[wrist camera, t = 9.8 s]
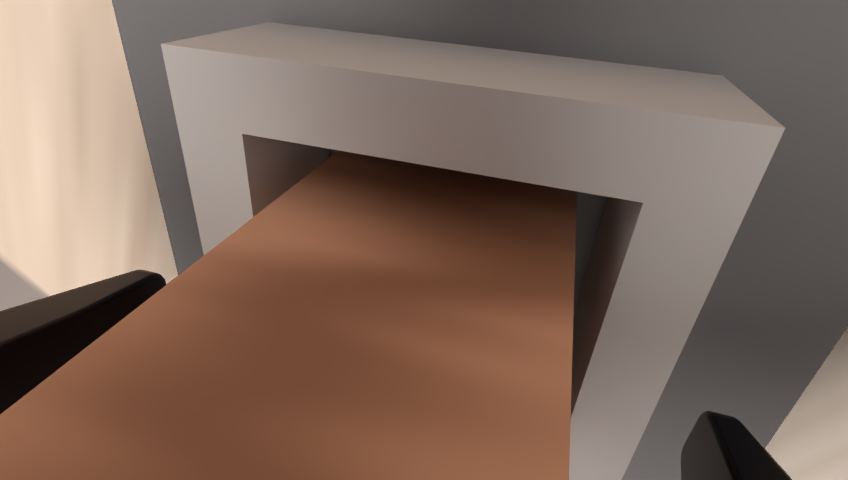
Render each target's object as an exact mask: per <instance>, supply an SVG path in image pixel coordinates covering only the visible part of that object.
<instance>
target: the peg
mask: <svg viewBox="0 0 848 480" xmlns="http://www.w3.org/2000/svg"><path fill="white" fill-rule="evenodd" d="M576 208H577V191H572V190H566V189H560V188H554V187H548V186H543V185H537V184H531V183H525V182H519V181H513V180H508V179H502V178H496V177H490V176H484V175H479V174H473V173H467V172H461V171H455V170H450V169H444V168H438V167H432V166H426V165H421V164H415V163H409V162H403V161H397V160H392V159H386V158H380V157H374V156H368V155H362V154H357V153H351V152H345V151H337V152H336V153H335V154H333V155H332V156H331V157H330V158H328V159H327V160H326V161H325V162H323V163H322V164H321V165H319V166H318V167H317V168H316V169H314V170H313V171H312V172H310V173H309V174H308V175H307V176H305V177H304V178H303V179H301V180H300V181H299V182H298V183H296V184H295V185H294V186H292V187H291V188H290V189H289V190H287V191H286V192H285V193H284V194H282V195H281V196H280V197H278V198H277V199H276V200H275V201H273V202H272V203H271V204H269V205H268V206H267V207H266V208H264V209H263V210H262V211H260V212H259V213H258V214H257V215H255V216H254V217H253V218H251V219H250V220H249V221H248V222H246V223H245V224H244V225H243V226H241V227H240V228H239V229H237V230H236V231H235V232H234V233H232V234H231V235H230V236H228V237H227V238H226V239H225V240H223V241H222V242H221V243H219V244H218V245H217V246H216V247H214V248H213V249H212V250H210V251H209V252H208V253H207V254H205V255H204V256H203V257H202V258H200V259H199V260H198V261H196V262H195V263H194V264H193V265H191V266H190V267H189V268H187V269H186V270H185V271H184V272H182V273H181V274H180V275H178V276H177V277H176V278H175V279H173V280H172V281H171V282H169V283H168V284H167V285H166V286H164V287H163V288H162V289H161V290H159V291H158V292H157V293H155V294H154V295H153V296H152V297H150V298H149V299H148V300H146V301H145V302H144V303H143V304H141V305H140V306H139V307H137V308H136V309H135V310H134V311H132V312H131V313H130V314H128V315H127V316H126V317H125V318H123V319H122V320H121V321H120V322H118V323H117V324H116V325H114V326H113V327H112V328H111V329H109V330H108V331H107V332H105V333H104V334H103V335H102V336H100V337H99V338H98V339H96V340H95V341H94V342H93V343H91V344H90V345H89V346H87V347H86V348H85V349H84V350H82V351H81V352H80V353H79V354H77V355H76V356H75V357H73V358H72V359H71V360H70V361H68V362H67V363H66V364H64V365H63V366H62V367H61V368H59V369H58V370H57V371H55V372H54V373H53V374H52V375H50V376H49V377H48V378H46V379H45V380H44V381H43V382H41V383H40V384H39V385H38V386H36V387H35V388H34V389H32V390H31V391H30V392H29V393H27V394H26V395H25V396H23V397H22V398H21V399H20V400H18V401H17V402H16V403H14V404H13V405H12V406H11V407H9V408H8V409H7V410H5V411H4V412H3V413H2V414H0V480H569V458H570V422H571V386H572V351H573V315H574V279H575V243H576Z"/></svg>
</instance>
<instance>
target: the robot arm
mask: <svg viewBox="0 0 848 480" xmlns="http://www.w3.org/2000/svg"><path fill="white" fill-rule="evenodd" d="M164 286H166V282H165V279H164V278H163V277H162V276H161V275H160V274H157V273H153V272H149V271H145V270H135V271H132V272H129V273H125V274H122V275H119V276H115V277H112V278H109V279H105V280H102V281H99V282H95V283H92V284H89V285H85V286H82V287H79V288H76V289H72V290H69V291H66V292H62V293H59V294H56V295H52V296H49V297H46V298H43V299H39V300H36V301H33V302H29V303H26V304H23V305H19V306H16V307H13V308H9V309H6V310H3V311H0V414H2V413H3V412H4V411H5V410H7V409H8V408H9V407H11V406H12V405H13V404H14V403H16V402H17V401H18V400H20V399H21V398H22V397H23V396H25V395H26V394H27V393H29V392H30V391H31V390H32V389H34V388H35V387H36V386H38V385H39V384H40V383H41V382H43V381H44V380H45V379H46V378H48V377H49V376H50V375H52V374H53V373H54V372H55V371H57V370H58V369H59V368H61V367H62V366H63V365H64V364H66V363H67V362H68V361H70V360H71V359H72V358H73V357H75V356H76V355H77V354H79V353H80V352H81V351H82V350H84V349H85V348H86V347H87V346H89V345H90V344H91V343H93V342H94V341H95V340H96V339H98V338H99V337H100V336H102V335H103V334H104V333H105V332H107V331H108V330H109V329H111V328H112V327H113V326H114V325H116V324H117V323H118V322H120V321H121V320H122V319H123V318H125V317H126V316H127V315H128V314H130V313H131V312H132V311H134V310H135V309H136V308H137V307H139V306H140V305H141V304H143V303H144V302H145V301H146V300H148V299H149V298H150V297H152V296H153V295H154V294H155V293H157V292H158V291H159V290H161V289H162V288H163V287H164ZM681 480H792V479H791V478H790V477H789V475H788V474H787V473H786V472H785V471H784V470H783V469H782V468H781V466H780V465H779V464H778V463H777V462H776V461H775V460H774V459H773V457H772V456H771V455H770V454H769V453H768V452H767V451H766V450H765V448H764V447H763V446H762V445H761V444H760V443H759V442H758V440H757V439H756V438H755V437H754V436H753V435H752V434H751V433H750V431H749V430H748V429H747V428H746V427H745V426H744V425H743V424H742V423H741V422H740V421H739V420H738V419H737V418H735V417H732V416H728V415H724V414H720V413H716V412H712V411H705V412H703V413H702V414H701V415H700V416H699V418H698V419H697V421H696V423H695V425H694V427H693V429H692V431H691V432H690V434H689V436H688V438H687V440H686V442H685V443H684V446H683V448H682V452H681Z"/></svg>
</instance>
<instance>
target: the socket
mask: <svg viewBox="0 0 848 480" xmlns="http://www.w3.org/2000/svg"><path fill="white" fill-rule="evenodd" d="M112 3H113V7H114V11H115V15H116V19H117V24H118V28H119V32H120V36H121V40H122V44H123V48H124V52H125V57H126V61H127V65H128V69H129V73H130V77H131V81H132V85H133V90H134V94H135V98H136V102H137V106H138V110H139V114H140V118H141V123H142V127H143V131H144V135H145V139H146V143H147V147H148V151H149V156H150V160H151V164H152V168H153V172H154V176H155V180H156V184H157V189H158V193H159V197H160V201H161V205H162V209H163V213H164V217H165V222H166V226H167V230H168V234H169V238H170V242H171V246H172V250H173V254H174V259H175V263H176V267H177V271H178V275H180V274H181V273H182V272H184V271H185V270H186V269H187V268H189V267H190V266H191V265H193V264H194V263H195V262H196V261H198V260H199V259H200V258H202V257H203V256H204V255H205V254H207V253H208V252H209V251H210V250H212V249H213V248H214V247H216V246H217V245H218V244H219V243H221V242H222V241H223V240H225V239H226V238H227V237H228V236H230V235H231V234H232V233H234V232H235V231H236V230H237V229H239V228H240V227H241V226H243V225H244V224H245V223H246V222H248V221H249V220H250V219H251V218H253V217H254V216H255V215H257V214H258V213H259V212H260V211H262V210H263V209H264V208H266V207H267V206H268V205H269V204H271V203H272V202H273V201H275V200H276V199H277V198H278V197H280V196H281V195H282V194H284V193H285V192H286V191H287V190H289V189H290V188H291V187H292V186H294V185H295V184H296V183H298V182H299V181H300V180H301V179H303V178H304V177H305V176H307V175H308V174H309V173H310V172H312V171H313V170H314V169H316V168H317V167H318V166H319V165H321V164H322V163H323V162H325V161H326V160H327V159H328V158H330V157H331V156H332V155H333V154H335V153H336V152H337V151H345V152H351V153H357V154H362V155H368V156H374V157H380V158H386V159H392V160H397V161H403V162H409V163H415V164H421V165H426V166H432V167H438V168H444V169H450V170H455V171H461V172H467V173H473V174H479V175H484V176H490V177H496V178H502V179H508V180H513V181H519V182H525V183H531V184H537V185H543V186H548V187H554V188H560V189H566V190H572V191H577V208H576V243H575V279H574V315H573V351H572V386H571V422H570V458H569V480H681V452H682V448H683V446H684V443H685V442H686V440H687V438H688V436H689V434H690V432H691V431H692V429H693V427H694V425H695V423H696V421H697V419H698V418H699V416H700V415H701V414H702V413H703V412H705V411H712V412H716V413H720V414H724V415H728V416H732V417H735V418H737V419H738V420H739V421H740V422H741V423H742V424H743V425H744V426H745V427H746V428H747V429H748V430H749V431H750V433H751V434H752V435H753V436H754V437H755V438H756V439H757V440H758V442H759V443H760V444H761V445H762V446H763V447H764V448H765V447H766V446H767V444H768V443H769V441H770V440H771V438H772V437H773V435H774V434H775V432H776V431H777V429H778V428H779V427H780V425H781V424H782V422H783V421H784V419H785V418H786V416H787V415H788V413H789V412H790V410H791V409H792V408H793V406H794V405H795V403H796V402H797V400H798V399H799V397H800V396H801V394H802V393H803V391H804V390H805V389H806V387H807V386H808V384H809V383H810V381H811V380H812V378H813V377H814V375H815V374H816V372H817V371H818V370H819V368H820V367H821V365H822V364H823V362H824V361H825V359H826V358H827V356H828V355H829V353H830V352H831V351H832V349H833V348H834V346H835V345H836V343H837V342H838V340H839V339H840V337H841V336H842V334H843V333H844V332H845V330H846V329H847V327H848V0H112Z"/></svg>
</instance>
